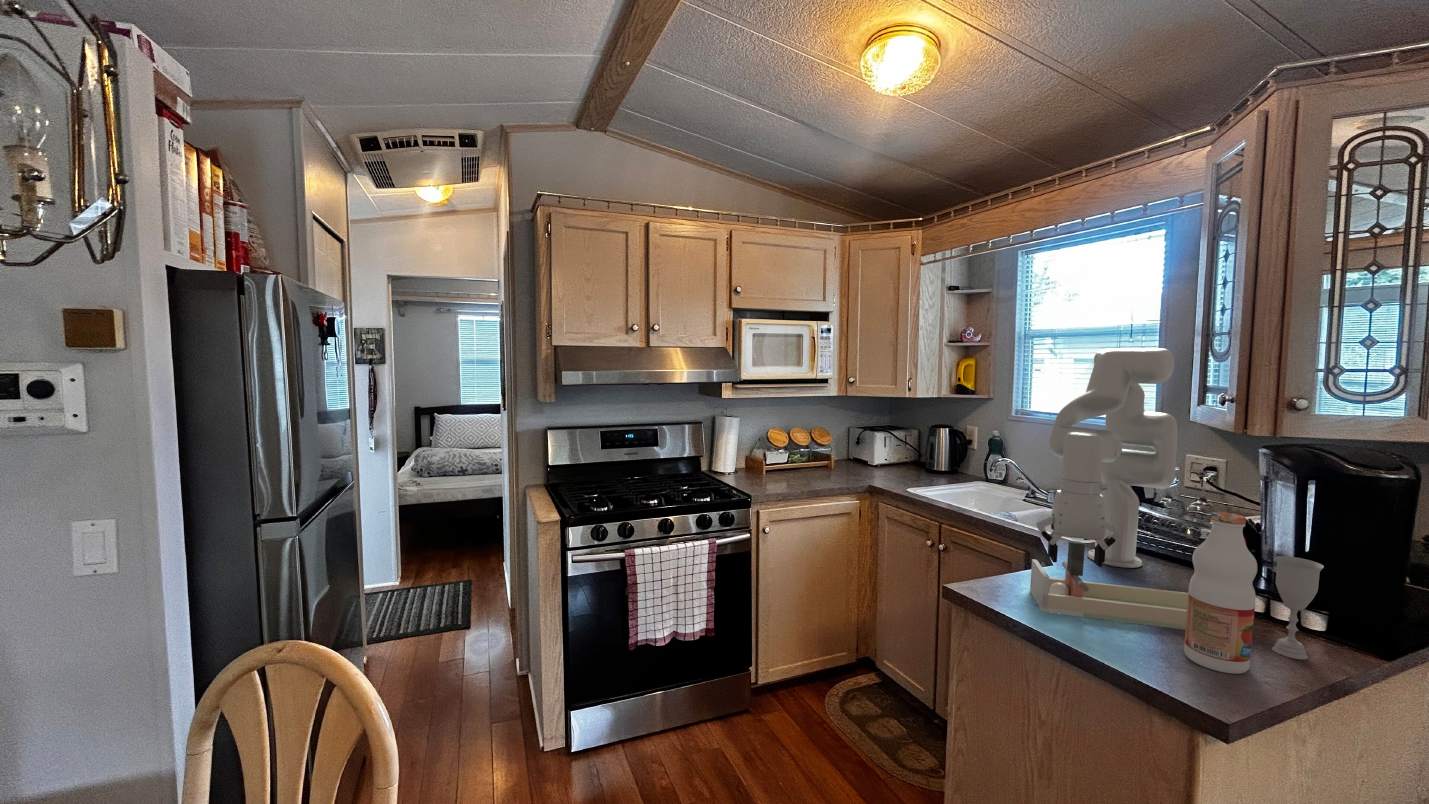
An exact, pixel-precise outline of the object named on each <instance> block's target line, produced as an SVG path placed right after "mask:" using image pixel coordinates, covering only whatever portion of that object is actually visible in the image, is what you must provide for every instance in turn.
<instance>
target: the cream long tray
mask: <svg viewBox="0 0 1429 804" xmlns="http://www.w3.org/2000/svg"><path fill="white" fill-rule="evenodd" d="M1030 570H1031V572H1030V589H1029V593H1030V594H1031V596H1032V597H1033V599H1034V600H1036V601H1035V602H1036V604H1037V606H1038V605H1039V606H1038V607H1039V609H1040V611H1041V610H1042V611H1043V612H1042V611H1041V612H1042V613H1048V612H1052V613H1051V614H1056V613H1060V614H1059V615H1066V616H1071V615H1072V617H1079V616H1080V617H1081V618H1088V619H1097V620H1103V621H1113V622H1121V623H1126V624H1127V623H1129V624H1136V625H1145V626H1153V627H1161V628H1168V629H1176V630H1182V631H1183V630H1184V631H1185V629H1186V617H1187V606H1188V592H1185V591H1184V592H1183V591H1175V590H1166V589H1157V588H1156V589H1155V588H1148V587H1141V586H1140V587H1138V586H1129V585H1122V584H1121V585H1119V584H1110V583H1104V582H1103V583H1102V582H1096V581H1095V582H1094V581H1093V582H1092V581H1085V580H1082V581H1083V582H1084V583H1085V584H1086V586H1087V587H1088V588H1089V590H1088V591H1087V592H1085V591H1083V597H1075V596H1067V595H1058V594H1050V592H1049V588H1050V586H1051V585H1052V584H1053V583H1055V582H1060V583H1063V584H1065V578H1058V577H1051V576H1049V575H1048V573H1047V572H1046V570H1045V569H1044V568H1043V566H1042V565H1041V564H1040V562H1039V561H1038V559H1034V558H1033V559H1031V569H1030Z"/></svg>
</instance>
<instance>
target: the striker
mask: <svg viewBox="0 0 1429 804" xmlns="http://www.w3.org/2000/svg"><path fill="white" fill-rule="evenodd" d="M1085 549H1086V546H1085V544H1084V543H1083V542H1082V541H1078V540H1077V541H1076V540H1068V549H1067V562H1066V561H1063V562H1062V563H1061V566H1062V567H1063V568H1064V569H1065V577H1064V579H1065V585H1066V586H1067V587H1068V589H1069V596H1075V597H1083V591H1085V592H1087V591H1088V590H1089V588H1088V587H1087V586H1086V584H1085V583H1084V582H1083V581H1084V580H1082V579H1081V577H1083V576H1084V575H1083V574H1084V564H1085V562H1084V561H1085Z"/></svg>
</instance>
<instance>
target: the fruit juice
mask: <svg viewBox="0 0 1429 804" xmlns="http://www.w3.org/2000/svg"><path fill="white" fill-rule="evenodd" d="M1209 518H1210V522H1211V524H1212V525H1211V528H1210V530H1209V533H1208V535H1207V537H1205V540H1204V541H1203V542H1202V543H1200V544H1199V545H1198V546H1197V547H1195V549H1194V550H1193V552H1192V553H1193V554H1192V557H1191V558H1192V565H1193V568H1194V572H1193V574H1192V576H1191V577H1190V580H1189V584H1188V592H1187V593H1188V606H1187V617H1186V629H1185V630H1184V631H1185V632H1184V633H1185V634H1184V641H1183V642H1184V643H1183V651H1184V655H1185V656H1186V657H1187V659H1188V660H1191V661H1192V662H1193V663H1195V664H1197V665H1199V666H1201V667H1203V668H1207V669H1210V670H1213V671H1216V672H1220V673H1223V674H1224V673H1226V674H1231V675H1232V674H1233V675H1235V674H1236V675H1237V674H1238V675H1239V674H1244V673H1247V671H1248V670H1249V669H1250V665H1251V652H1252V643H1253V633H1254V622H1255V621H1254V619H1255V610H1256V609H1255V608H1256V590H1255V588H1254V586H1253V583H1254V582H1253V581H1254V580H1255V578H1256V575H1257V574H1258V563H1257V560H1256V558H1255V556H1254V555H1253V554H1252V553H1251V551H1249V549H1248V546H1247V543H1246V544H1245V541H1244V538H1245V536H1244V533H1243V531H1244V528H1245V527H1246V523H1247V520H1246V517H1245V516H1243V515H1242V514H1241V515H1240V514H1237V513H1233V512H1232V513H1231V512H1225V511H1213V512H1211V514H1210V517H1209ZM1243 536H1244V537H1243Z"/></svg>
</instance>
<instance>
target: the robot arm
mask: <svg viewBox="0 0 1429 804" xmlns="http://www.w3.org/2000/svg"><path fill="white" fill-rule="evenodd" d="M1174 368H1175V357H1174V355H1173V353H1172V352H1171V351H1170V350H1169V349H1167V348H1137V347H1136V348H1134V347H1131V348H1128V347H1125V348H1122V347H1120V348H1119V347H1118V348H1115V347H1114V348H1105V349H1101V350H1098V351H1097V352H1096V353H1095V355H1094V357H1093V368H1092V371H1091V374H1090V377H1089V379H1088V380H1089V381H1088V383H1087V387H1086V389H1085V390H1086V391H1085V393H1084V394H1082V395H1080V396H1078V397H1076V398H1074V399H1073V400H1072V401H1070V402H1068V403H1067V404H1066V405H1065V406H1064V407H1062V409H1060V410H1059V412H1058V413H1057V415H1056V416H1055V417H1056V418H1055V420H1054V423H1053V425H1052V429H1051V432H1050V435H1049V440H1048V443H1049V444H1048V445H1049V450H1050V452H1051V453H1052V454H1053V455H1054V456H1056V457H1058V458H1061V459H1062V469H1061V470H1062V471H1061V482H1060V483H1061V484H1060V489H1057V490H1056V491H1055V495H1054V497H1053V503H1052V507H1051V508H1052V510H1051V515H1050V516H1048V517H1046V518H1044V519H1042V520H1039V521H1037V522H1036V523H1035V527H1036V528H1037V530H1038V532H1039V533H1040V535H1041V536H1042V537H1043V538H1044V540H1046V542H1048V545H1047V557H1048V558H1049V559H1050V560H1051V562H1052V563H1057V562H1058V551H1059V546H1058V545H1057V542H1058V541H1059V540H1061V538H1062V537H1065V538H1073V539H1074V538H1075V539H1083V540H1084V539H1086V540H1094V541H1095V543H1094V549H1090V550H1088V552H1087V557H1088V558H1089V559H1090V560H1093V563H1094V564H1095V565H1096V566H1097V567H1098V568H1102V567H1103V565H1106V566H1107V565H1108V566H1112V567H1118V568H1123V569H1124V568H1125V569H1127V568H1130V569H1133V568H1135V569H1136V568H1140V567H1142V565H1143V561H1142V559H1141V558H1139V557H1138V556H1136V552H1137V542H1138V541H1137V538H1138V529H1139V514H1140V499H1139V496H1138V495H1137V494H1136V492H1135V491H1134V490H1133V488H1132V487H1131V486H1137V487H1138V486H1139V487H1145V488H1153V489H1162V490H1163V489H1168V488H1170V487H1172V485H1173V483H1174V480H1175V476H1176V466H1177V464H1176V462H1177V449H1178V422H1177V421H1176V418H1175V417H1174V416H1173V415H1171V414H1170V413H1166V412H1159V411H1147V410H1145V391H1144V389H1143V387H1142V386H1141V384H1142V385H1143V384H1145V385H1146V384H1147V385H1158V384H1163V383H1165V382H1166V381H1168V380H1169V379H1170V378H1171V377H1172V375H1173V372H1174ZM1101 416H1105V426H1104V428H1105V430H1104V429H1095V428H1083V427H1076V426H1075V425H1076V424H1078V423H1080V422H1082V421H1083V422H1084V421H1086V420H1089V419H1094V418H1097V417H1101ZM1074 426H1075V427H1074ZM1125 445H1126V446H1132V447H1133V446H1135V447H1145V448H1146V447H1147V448H1151V449H1153V451H1145V450H1137V449H1128V448H1123V446H1125ZM1047 526H1050V530H1052V532H1050V534H1049V533H1048V532H1047V530H1046V527H1047Z"/></svg>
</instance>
